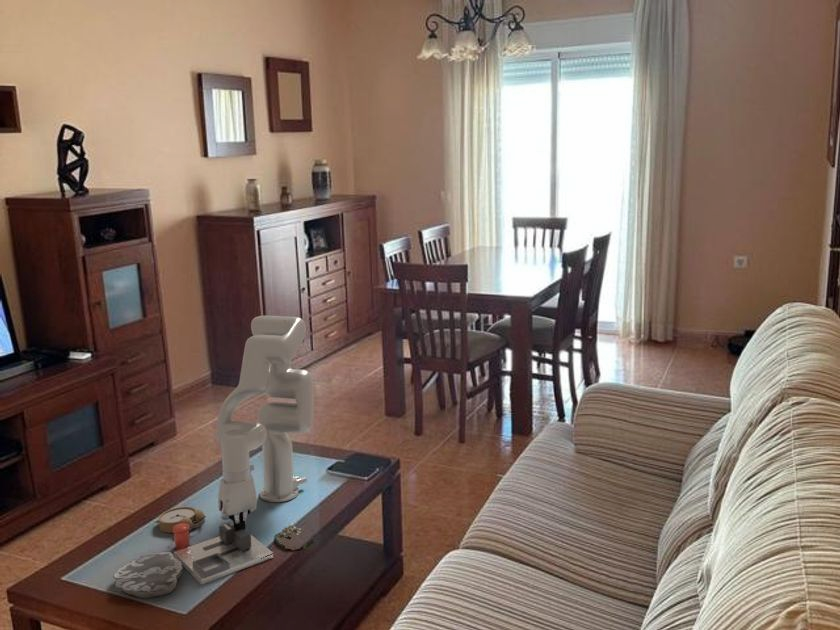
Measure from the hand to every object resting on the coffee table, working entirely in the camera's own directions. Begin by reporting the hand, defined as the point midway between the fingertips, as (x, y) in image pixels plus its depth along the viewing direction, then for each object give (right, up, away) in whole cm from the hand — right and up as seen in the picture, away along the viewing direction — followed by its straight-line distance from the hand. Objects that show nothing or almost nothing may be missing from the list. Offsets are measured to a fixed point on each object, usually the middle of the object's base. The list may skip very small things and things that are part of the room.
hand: (239, 532), depth 217 cm
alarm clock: (-20, -1, +10) cm, 22 cm away
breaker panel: (-3, -4, -8) cm, 9 cm away
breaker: (+2, -2, -5) cm, 6 cm away
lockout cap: (-16, -3, -2) cm, 16 cm away
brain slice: (-19, -8, -20) cm, 28 cm away
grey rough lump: (+15, -3, +1) cm, 16 cm away
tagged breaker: (-3, -1, -2) cm, 4 cm away
